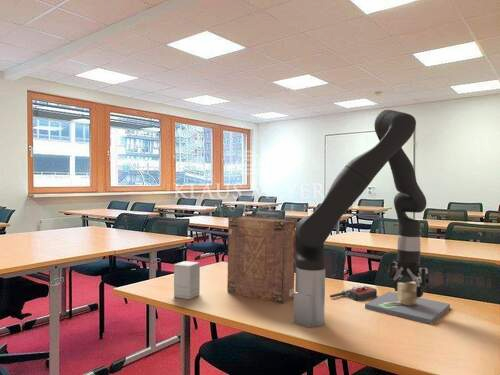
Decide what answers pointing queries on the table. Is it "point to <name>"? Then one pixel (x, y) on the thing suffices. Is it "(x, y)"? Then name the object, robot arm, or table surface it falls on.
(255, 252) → the book
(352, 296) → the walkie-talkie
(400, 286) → the tuning knob
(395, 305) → the grey flat square slab
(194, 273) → the supplement box
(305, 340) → the table surface
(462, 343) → the table surface
